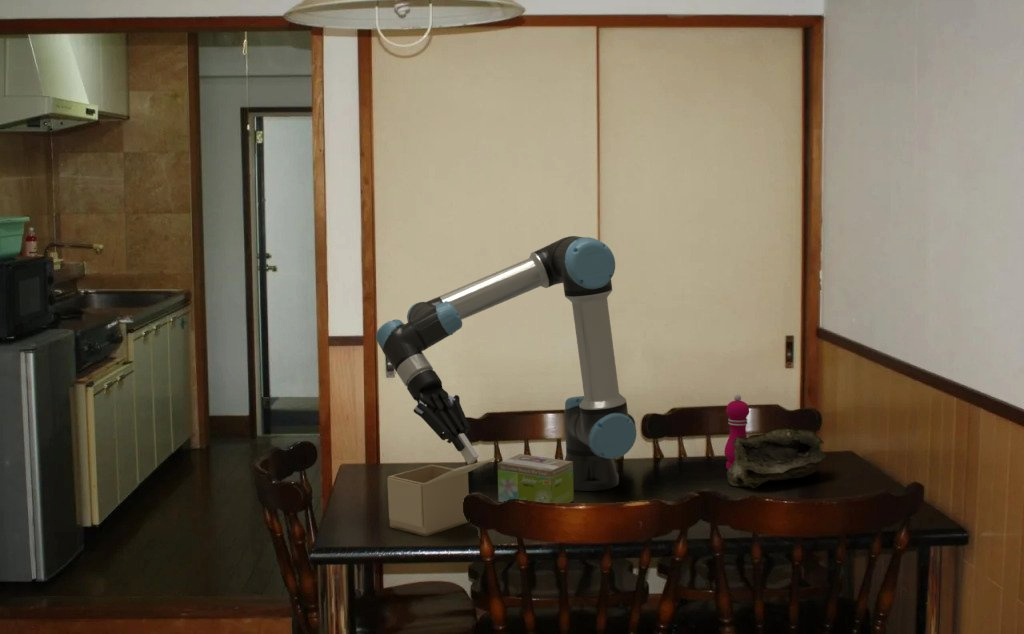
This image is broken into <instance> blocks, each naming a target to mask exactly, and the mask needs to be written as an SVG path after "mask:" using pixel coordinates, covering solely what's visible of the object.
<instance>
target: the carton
mask: <svg viewBox="0 0 1024 634" xmlns="http://www.w3.org/2000/svg"><path fill="white" fill-rule="evenodd" d="M453 469H454V468H451V467H446V466H442V465H436V464H428V465H424V466H421V467H418V468H415V469H410V470H407V471H402V472H399V473H396V474H392V475H389V476H387V480H386V481H387V497H388V498H387V499H388V503H387V505H388V519H389V528H392V529H395V530H399V531H403V532H407V533H412V534H413V535H418V536H422V537H428V536H431V535H434V534H437V533H440V532H443V531H447V530H449V529H453V528H455V527H459V526H461V525H464V524H467V523H469V522H468V521H467V520H466V518H465V516H464V513H463V502H464V498H465V497H466V496H467V495H470V491H469V490H470V489H469V472H467V473H464V474H461V475H457V476H454V477H450V478H447V479H443V480H440V481H436V482H433V483H429V484H426V482H428V481H430V480H432V479H434V478H437V477H439V476H441V475H443V474H445V473H447V472H449V471H451V470H453Z"/></svg>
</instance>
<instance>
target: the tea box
mask: <svg viewBox="0 0 1024 634" xmlns="http://www.w3.org/2000/svg"><path fill="white" fill-rule="evenodd" d="M574 491H575V490H573V461H565V459H559V458H558V459H557V458H551V457H544V456H537V455H530V454H522V453H519V454H517V455H515V456H512V457H510V458H508V459H506V460H502V461H500V462H497V496H498V504H499V503H502V502H505V501H507V500H509V499H519V500H528V501H535V502H543V503H574V504H575V502H574V500H575V499H574V496H575V493H574Z"/></svg>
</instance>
